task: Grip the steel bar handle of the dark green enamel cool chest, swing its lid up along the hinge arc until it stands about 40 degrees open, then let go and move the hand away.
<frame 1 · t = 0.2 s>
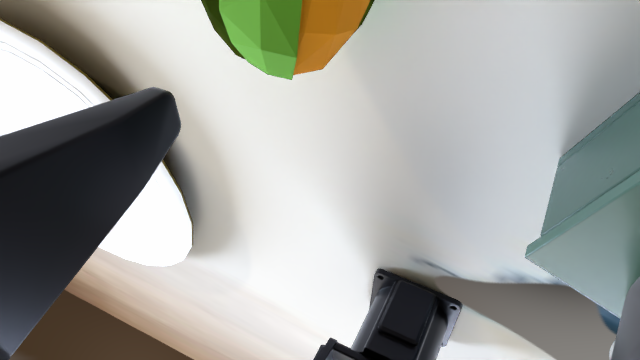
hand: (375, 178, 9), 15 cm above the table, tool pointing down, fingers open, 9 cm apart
plate: (76, 147, 47), on the table
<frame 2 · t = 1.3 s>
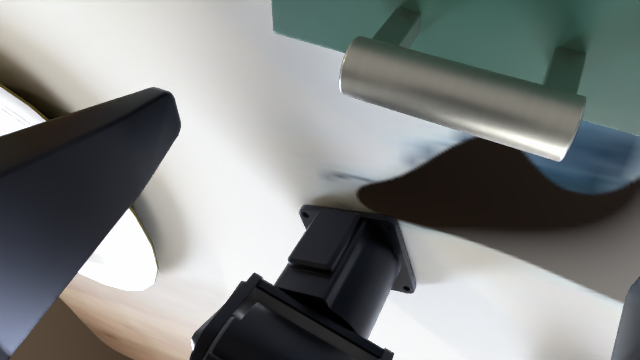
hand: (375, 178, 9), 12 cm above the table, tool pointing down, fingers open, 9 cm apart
plate: (45, 176, 49), on the table
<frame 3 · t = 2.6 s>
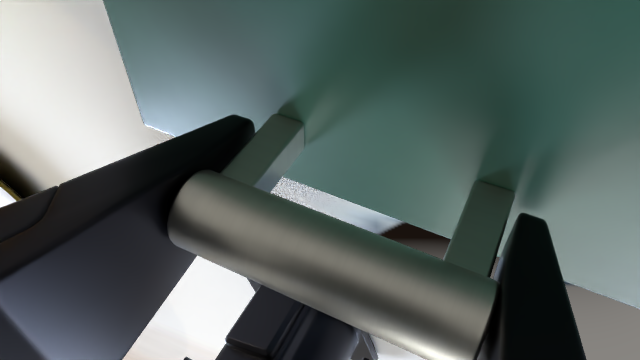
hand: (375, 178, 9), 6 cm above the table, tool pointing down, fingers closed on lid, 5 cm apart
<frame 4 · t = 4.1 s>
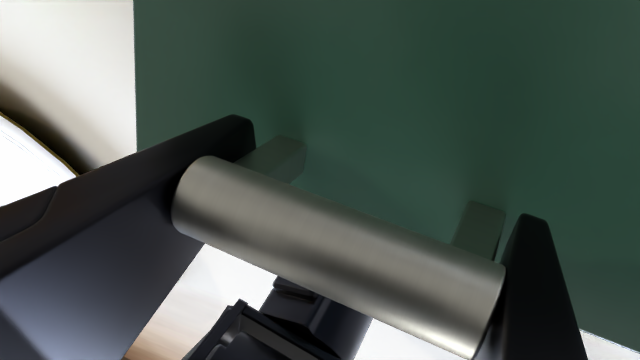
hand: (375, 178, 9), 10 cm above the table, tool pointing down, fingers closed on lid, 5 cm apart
plate: (42, 192, 49), on the table
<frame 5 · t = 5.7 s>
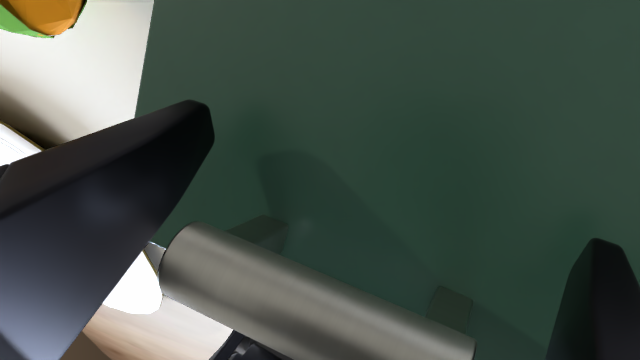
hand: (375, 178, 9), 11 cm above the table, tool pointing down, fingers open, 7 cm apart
plate: (57, 209, 52), on the table
lid: (411, 37, 8), point 10 cm above the table, hinge at 34.6°
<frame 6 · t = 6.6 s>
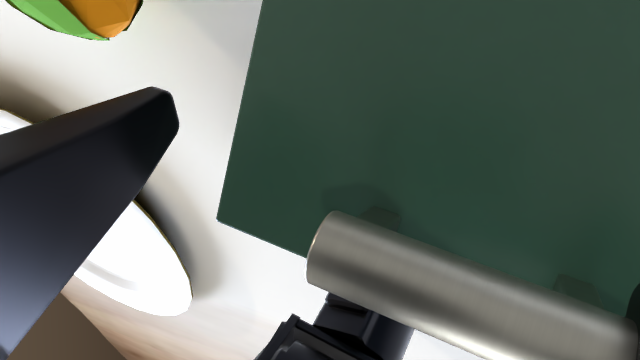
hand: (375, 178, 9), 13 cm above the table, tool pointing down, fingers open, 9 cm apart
plate: (85, 211, 52), on the table
lid: (553, 28, 8), point 10 cm above the table, hinge at 34.6°, touching gripper
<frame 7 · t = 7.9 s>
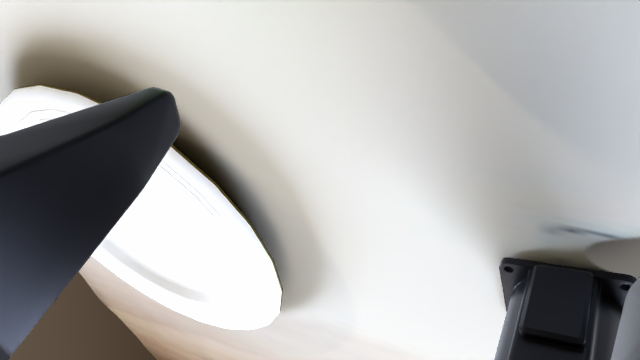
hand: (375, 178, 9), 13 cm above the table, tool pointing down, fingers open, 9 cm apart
plate: (151, 212, 45), on the table
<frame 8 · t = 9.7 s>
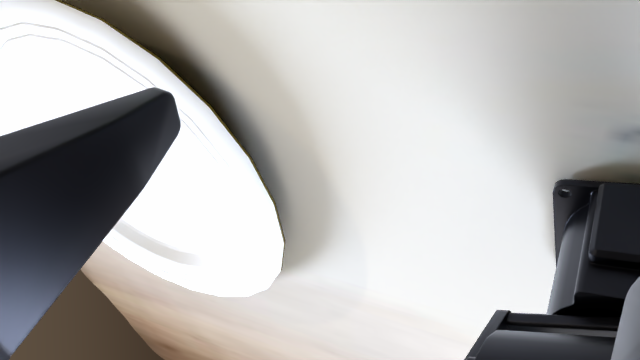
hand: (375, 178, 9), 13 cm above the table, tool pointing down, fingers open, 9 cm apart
plate: (137, 160, 40), on the table
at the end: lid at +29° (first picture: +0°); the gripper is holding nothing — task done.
